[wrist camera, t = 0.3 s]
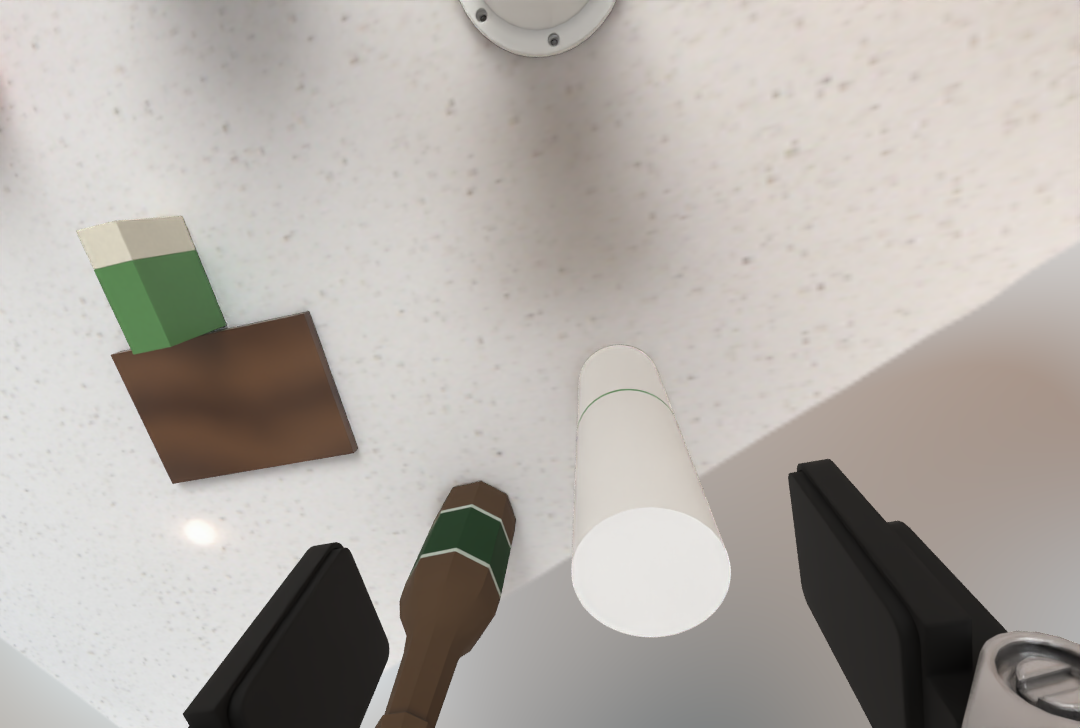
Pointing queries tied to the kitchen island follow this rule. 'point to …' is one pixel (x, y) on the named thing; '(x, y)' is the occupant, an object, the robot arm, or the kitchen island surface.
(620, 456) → the cylindrical container
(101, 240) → the block
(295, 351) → the cutting board
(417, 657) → the beer bottle
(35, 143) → the kitchen island surface
